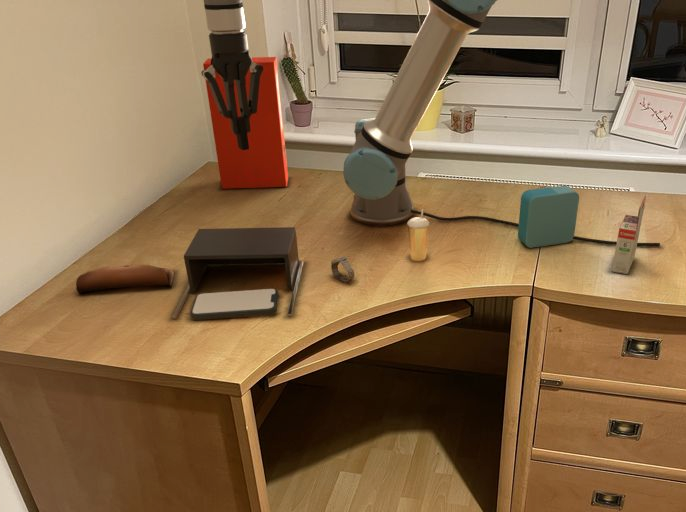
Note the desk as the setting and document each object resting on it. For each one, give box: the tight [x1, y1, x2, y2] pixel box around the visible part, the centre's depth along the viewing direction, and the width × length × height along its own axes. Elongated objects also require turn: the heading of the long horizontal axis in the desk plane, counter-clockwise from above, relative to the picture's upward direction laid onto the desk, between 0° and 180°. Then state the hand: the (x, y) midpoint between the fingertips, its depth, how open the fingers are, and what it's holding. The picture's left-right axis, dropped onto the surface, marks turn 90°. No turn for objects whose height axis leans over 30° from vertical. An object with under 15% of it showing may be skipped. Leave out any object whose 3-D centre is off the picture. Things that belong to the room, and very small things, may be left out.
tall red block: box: [202, 56, 289, 190], centre depth 185 cm, size 8×17×32 cm, turn 94°
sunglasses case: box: [75, 264, 175, 294], centre depth 143 cm, size 18×7×7 cm, turn 99°
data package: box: [517, 185, 580, 249], centre depth 156 cm, size 12×4×12 cm, turn 107°
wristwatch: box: [330, 255, 356, 283], centre depth 143 cm, size 4×6×5 cm, turn 41°
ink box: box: [610, 194, 647, 275], centre depth 145 cm, size 4×8×15 cm, turn 156°
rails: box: [171, 260, 305, 320], centre depth 141 cm, size 22×23×1 cm
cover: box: [183, 226, 300, 293], centre depth 144 cm, size 20×13×8 cm, turn 91°
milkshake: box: [406, 209, 430, 262], centre depth 151 cm, size 5×5×10 cm
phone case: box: [189, 288, 279, 321], centre depth 135 cm, size 9×2×16 cm
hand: (243, 148), depth 154 cm, fingers closed
